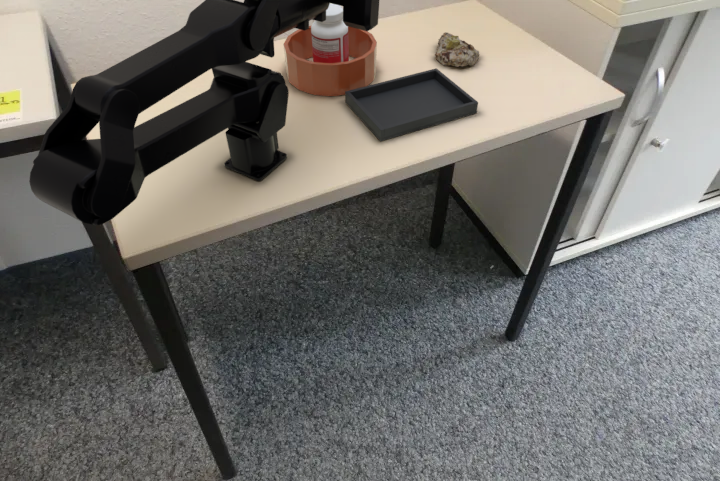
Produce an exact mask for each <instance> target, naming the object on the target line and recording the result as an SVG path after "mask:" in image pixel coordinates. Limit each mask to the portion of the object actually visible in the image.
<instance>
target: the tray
mask: <svg viewBox="0 0 720 481" xmlns="http://www.w3.org/2000/svg"><path fill="white" fill-rule="evenodd" d="M344 98H345V100H344V101H345V104H346V105H347V106H348V107H349V108H350V109H351V111H353V113H354V114H355V115H356V116H357V117H358V119H359V120H360V121H361V122H362V123H363V124H364V125H365V126H366V127H367V128H368V129H369V131H370V132H371V133H372V134H373V135H374V136H375V137H376V139H377V140H379V141H380V142H384V141H387V140H390V139H391V140H392V139H394V138H398V137H401V136H404V135H407V134H411V133H414V132H417V131H421V130H424V129H428V128H431V127H435V126H438V125H442V124H445V123H449V122H451V121H455V120H458V119H459V120H460V119H462V118H465V117H468V116H469V117H470V116H472V115H476V114H477V111H478V106H479V102H478V101H477V100H476V99H475V98H474V97H472V96H471V95H470V94H469V93H468V92H466V91H465V90H464V89H463V88H461V87H460V86H459V85H458V84H456V82H454V81H453V80H451V79H450V78H449V77H448V76H446V75H445V74H444V73H443V72H441V70H439V69H438V68H433V69H428V70H424V71H420V72H416V73H413V74H409V75H405V76H401V77H396V78H392V79H389V80H385V81H380V82H377V83H373V84H369V85H368V86H365V87H361V88H357V89H353V90H349V91H345V95H344Z"/></svg>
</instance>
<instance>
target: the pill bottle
mask: <svg viewBox="0 0 720 481" xmlns="http://www.w3.org/2000/svg"><path fill="white" fill-rule="evenodd" d="M311 25H312V26H311ZM311 25H310V26H311V37H312V51H313V57H312V62H320V63H338V62H346V61H350V56H349V43H348V26H346V25H345V23H344V22H343V6H340V5H336V4H332V3H330V4H329V7H328V9H327V10H326V20H325V21H323V22H320V21H316V20H314V21H313V22H312V24H311Z"/></svg>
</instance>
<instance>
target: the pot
mask: <svg viewBox="0 0 720 481" xmlns="http://www.w3.org/2000/svg"><path fill="white" fill-rule="evenodd" d="M311 26H312V24H311V25H309V29H307V30H305V31H304V30H300V29H296V30H295V31H294V32H292V33H289V35H287V37H286V39H285V40H284V42H283V54H284V62H285V71H286V76H287V79H288V82H289V84H291V85H292V86H293V87H295V89H297V90H298V91H301V92H303V93H307V94H310V95H313V96H323V97H337V96H345V91H349V90H353V89H357V88H361V87H365V86H369V85H371V83H373V82H374V81H375V78H376V74H377V51H378V50H377V49H378V48H377V47H378V41H377V39H376V38H375V36H374V35H373V34H372V33H371V32H370V31H364V30H360V29H356V28H352V27H348V43H349V57H352V58H353V59H349V61H346V62H338V63H320V62H313V60H308V59H311V58H313V51H312V37H311Z"/></svg>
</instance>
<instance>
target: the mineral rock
mask: <svg viewBox="0 0 720 481" xmlns="http://www.w3.org/2000/svg"><path fill="white" fill-rule="evenodd" d="M437 45H438V46H437V51H436V52H435V54H434V56H435V58H436V60H437V62H438V63H440V64H441V65H442V66H452V67H457V68H458V67H465V66H470V67H472V66H474V65H475V64H476V63H477V61H478V59H479V58H480V55H481V54H480V51H479V50H478V49H476V48H475V47H474V46H473V44H471V43H470V44H469V43H468V42H466V41H465V40H463V39H460V37H459V35H453V34H452V33H449V32H443V33H442V35H440V37H439V39H438V41H437Z"/></svg>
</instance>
